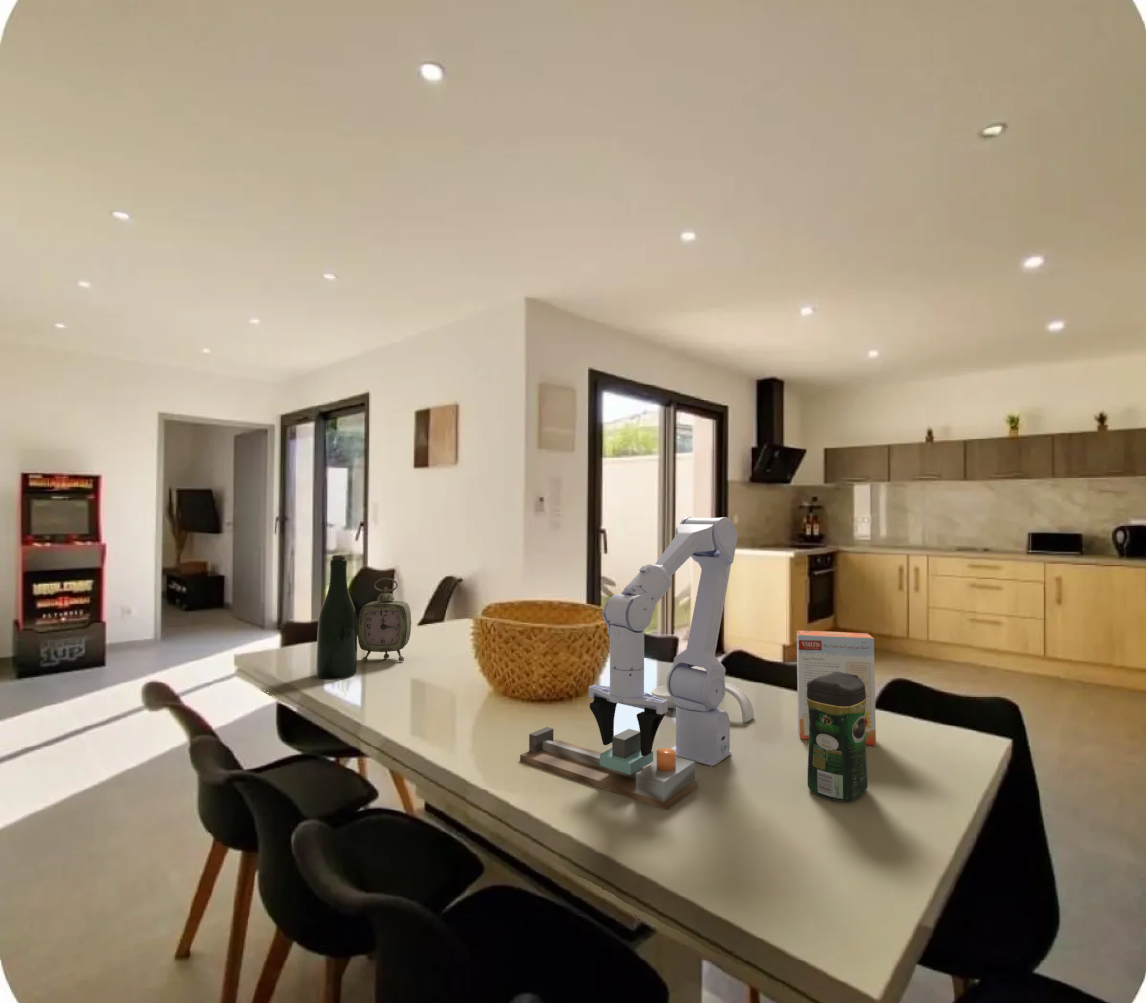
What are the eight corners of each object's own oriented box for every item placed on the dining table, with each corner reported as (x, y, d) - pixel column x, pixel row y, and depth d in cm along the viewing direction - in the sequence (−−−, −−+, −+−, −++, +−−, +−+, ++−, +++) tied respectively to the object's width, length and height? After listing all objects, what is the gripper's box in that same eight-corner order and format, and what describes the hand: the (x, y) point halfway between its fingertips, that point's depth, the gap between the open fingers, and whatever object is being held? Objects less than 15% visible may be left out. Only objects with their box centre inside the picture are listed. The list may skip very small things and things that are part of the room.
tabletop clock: (356, 664, 183) (358, 579, 183) (364, 657, 192) (365, 576, 192) (406, 663, 184) (407, 579, 184) (411, 656, 193) (413, 576, 193)
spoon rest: (642, 707, 143) (642, 676, 143) (666, 696, 153) (666, 667, 153) (741, 729, 129) (741, 694, 129) (760, 714, 139) (760, 682, 139)
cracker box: (870, 736, 124) (869, 632, 125) (876, 747, 118) (875, 637, 119) (796, 729, 128) (796, 628, 129) (799, 739, 122) (798, 633, 123)
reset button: (679, 766, 98) (679, 751, 99) (669, 773, 96) (669, 756, 96) (662, 762, 100) (662, 746, 100) (653, 768, 98) (653, 752, 98)
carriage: (653, 761, 104) (653, 732, 104) (630, 774, 98) (630, 744, 98) (623, 752, 107) (623, 725, 108) (599, 765, 102) (599, 735, 102)
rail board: (697, 787, 100) (697, 762, 100) (667, 810, 92) (667, 783, 92) (555, 744, 119) (555, 723, 119) (519, 760, 111) (519, 737, 111)
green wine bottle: (347, 680, 164) (349, 556, 165) (309, 679, 165) (311, 555, 166) (362, 670, 175) (364, 554, 176) (326, 670, 175) (328, 553, 176)
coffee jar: (825, 774, 105) (825, 665, 106) (874, 790, 100) (873, 674, 100) (798, 791, 99) (798, 675, 99) (848, 809, 93) (848, 685, 94)
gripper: (578, 664, 105) (577, 745, 104) (652, 678, 96) (651, 767, 95) (602, 657, 110) (601, 734, 110) (674, 670, 101) (674, 753, 101)
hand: (626, 748), depth 103 cm, fingers open, 7 cm apart
